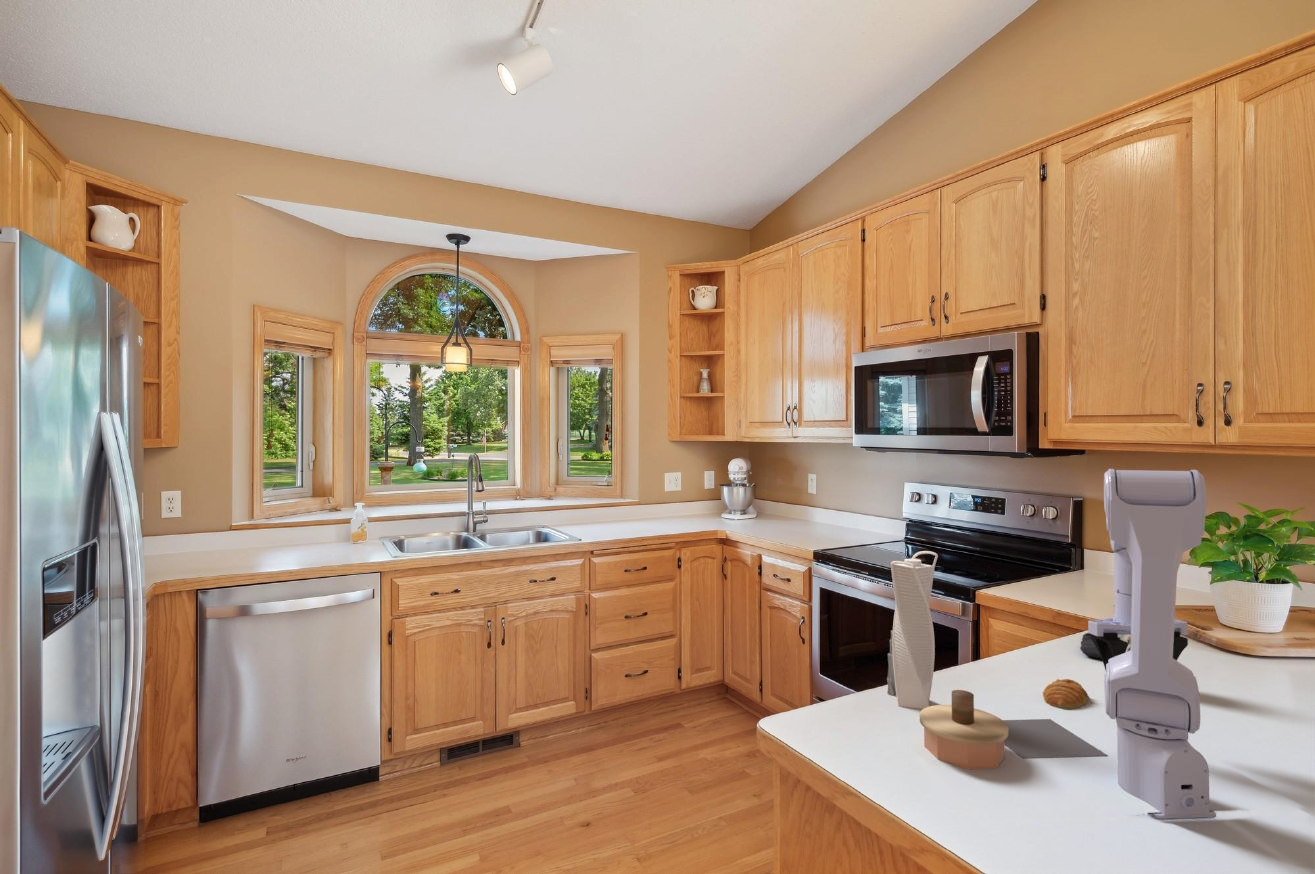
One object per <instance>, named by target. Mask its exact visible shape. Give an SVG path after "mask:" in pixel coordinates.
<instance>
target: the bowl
mask: <svg viewBox="0 0 1315 874" xmlns="http://www.w3.org/2000/svg"><path fill="white" fill-rule="evenodd" d="M923 731H924V732H923V733H924V735H923V737H924V739H923V741H924V743H923V746H924V748H925V749H927V751H928V752H929V753H931V754H932V755H933V756H934V758H936V759H937V760H938V761H941V762H944V763H948V764H952V765H955V766H958V767H960V768H965V769H968V770H969V769H971V770H972V769H973V770H974V769H975V770H976V769H997V768H998V767H999V766H1000V764H1001V763H1002V761H1004V759H1005V745H1004V741H1002V742H998V743H993V744H971V743H964V742H958V741H954V740H950V739H947V738H944V737H941V736H938V735H936V734H934V733H932V732H930V731H928V730H927V729H926V728H924V727H923Z"/></svg>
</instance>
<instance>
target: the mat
mask: <svg viewBox="0 0 1315 874" xmlns="http://www.w3.org/2000/svg"><path fill="white" fill-rule="evenodd" d="M1002 720H1003V721H1004V722H1005V723H1006V724H1007V726H1008V733H1009V735H1008V737H1007V739H1005V740H1004V746H1005V747H1007V748H1008V749H1010V750H1011V752H1013V753H1015V754H1016V755H1017V756H1019V757H1020V758H1022V760H1023V759H1025V760H1026V759H1054V758H1055V759H1056V758H1057V759H1058V758H1061V759H1062V758H1089V757H1091V758H1093V757H1094V758H1095V757H1109V755H1108V754H1106V753H1104V752H1103V751H1102V750H1100V749H1099V748H1097V747H1096V746H1094V745H1093V744H1090V743H1089V742H1087V741H1086V740H1085V739H1082V738H1081V737H1079V736H1078V735H1076V734H1074V733H1073V732H1071V731H1070V730H1068V729H1067V728H1065V727H1063V726H1062V725H1061V724H1058V723H1057V722H1055V721H1054V720H1053V719H1051V718H1042V719H1041V718H1037V719H1036V718H1035V719H1032V718H1031V719H1002Z"/></svg>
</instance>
